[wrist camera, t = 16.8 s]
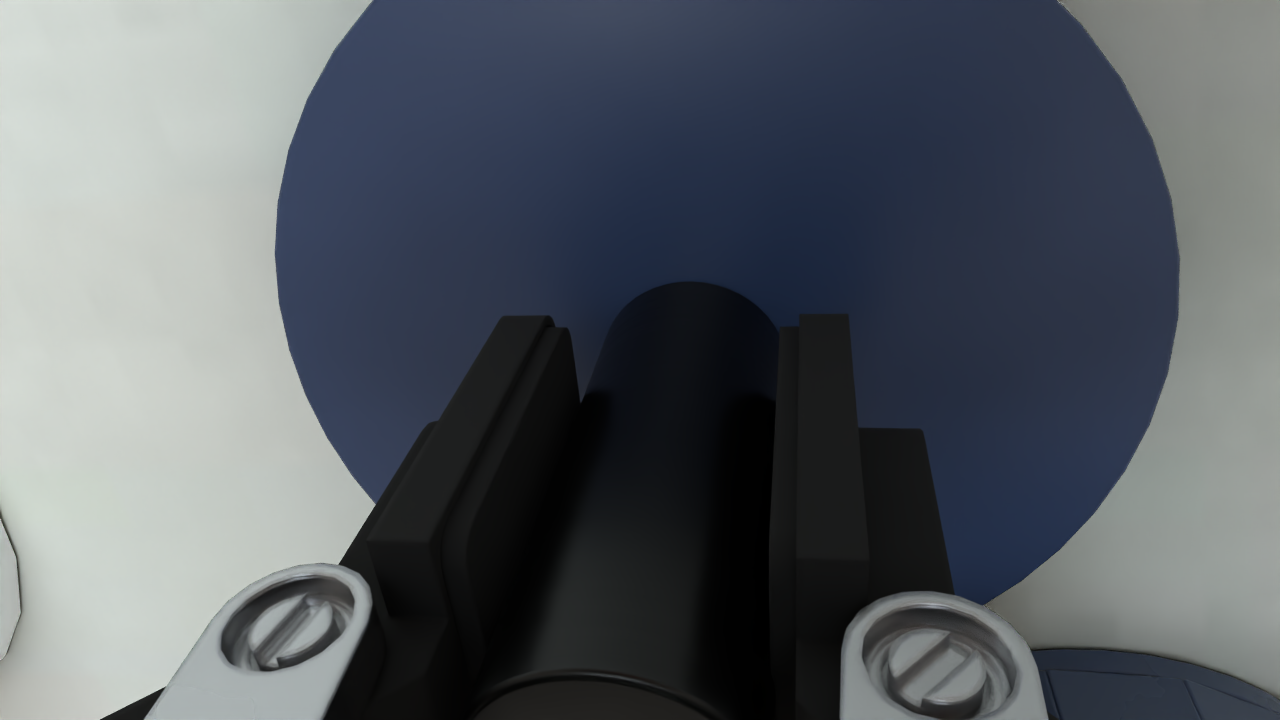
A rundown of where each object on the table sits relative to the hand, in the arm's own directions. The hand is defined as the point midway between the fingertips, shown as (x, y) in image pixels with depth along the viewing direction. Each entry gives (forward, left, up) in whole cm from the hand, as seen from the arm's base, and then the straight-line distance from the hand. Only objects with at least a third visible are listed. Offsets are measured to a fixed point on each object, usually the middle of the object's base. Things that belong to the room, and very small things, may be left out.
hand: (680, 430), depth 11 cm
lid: (0, 0, -2) cm, 2 cm away
